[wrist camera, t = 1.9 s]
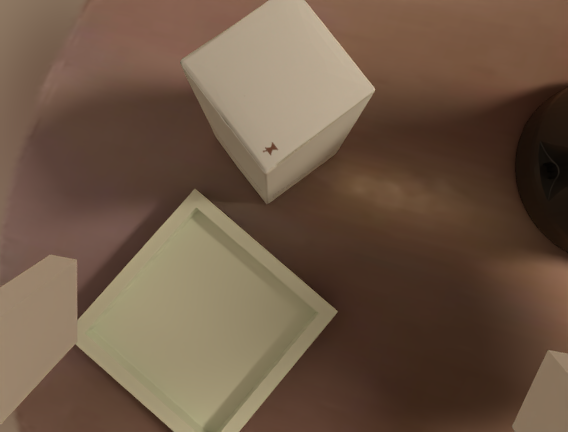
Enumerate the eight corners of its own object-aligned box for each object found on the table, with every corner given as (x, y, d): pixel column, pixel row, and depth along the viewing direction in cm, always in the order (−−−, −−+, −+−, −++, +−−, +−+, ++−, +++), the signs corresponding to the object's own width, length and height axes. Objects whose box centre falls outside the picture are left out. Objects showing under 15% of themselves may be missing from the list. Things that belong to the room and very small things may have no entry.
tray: (199, 192, 32) (195, 188, 30) (333, 307, 32) (338, 311, 30) (77, 329, 31) (64, 334, 29) (215, 450, 30) (211, 465, 28)
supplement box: (339, 153, 33) (382, 92, 20) (266, 206, 32) (262, 179, 20) (285, 82, 33) (294, -22, 20) (211, 133, 32) (174, 60, 20)
